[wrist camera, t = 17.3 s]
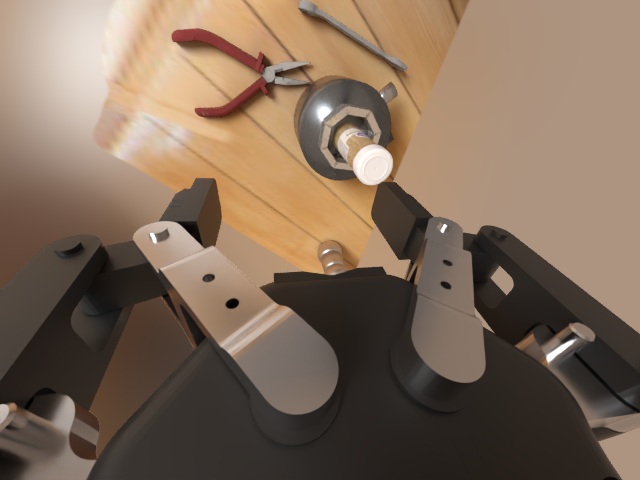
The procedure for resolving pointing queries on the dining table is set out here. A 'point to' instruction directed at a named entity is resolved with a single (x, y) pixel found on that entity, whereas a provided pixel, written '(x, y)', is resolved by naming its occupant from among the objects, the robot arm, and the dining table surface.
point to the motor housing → (340, 120)
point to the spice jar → (363, 154)
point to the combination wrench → (349, 33)
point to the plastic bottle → (331, 258)
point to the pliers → (242, 56)
